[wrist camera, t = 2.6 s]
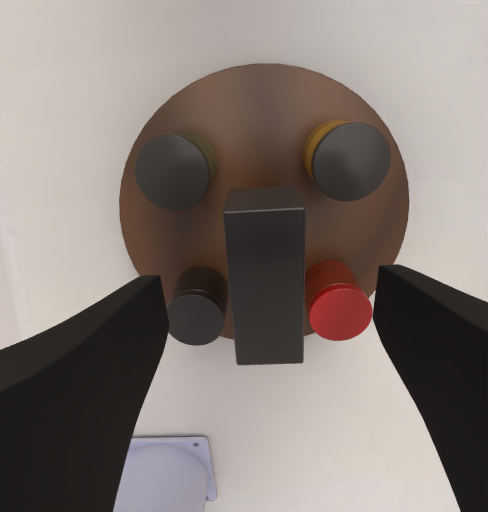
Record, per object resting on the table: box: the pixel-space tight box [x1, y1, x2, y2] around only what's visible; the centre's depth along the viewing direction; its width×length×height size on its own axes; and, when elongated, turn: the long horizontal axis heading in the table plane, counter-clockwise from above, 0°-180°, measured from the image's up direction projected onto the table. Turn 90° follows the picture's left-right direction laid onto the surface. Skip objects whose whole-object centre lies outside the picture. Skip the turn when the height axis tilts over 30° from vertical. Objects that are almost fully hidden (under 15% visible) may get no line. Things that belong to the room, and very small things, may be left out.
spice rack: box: [119, 64, 409, 365], centre depth 14 cm, size 15×15×8 cm
